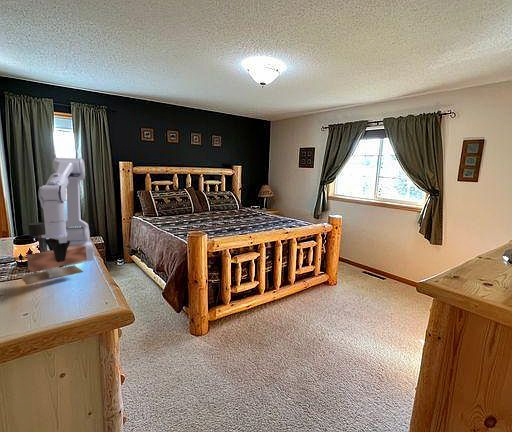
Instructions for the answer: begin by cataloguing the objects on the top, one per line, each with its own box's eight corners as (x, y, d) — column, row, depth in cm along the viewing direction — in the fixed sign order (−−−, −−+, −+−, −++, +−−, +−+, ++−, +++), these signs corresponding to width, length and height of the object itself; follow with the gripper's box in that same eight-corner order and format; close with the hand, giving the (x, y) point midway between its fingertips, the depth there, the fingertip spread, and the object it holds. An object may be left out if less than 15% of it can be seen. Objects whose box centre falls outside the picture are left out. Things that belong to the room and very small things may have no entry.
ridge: (55, 269, 107) (54, 259, 106) (62, 275, 101) (61, 265, 100) (43, 272, 104) (42, 262, 103) (49, 278, 98) (48, 267, 97)
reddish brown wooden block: (81, 257, 103) (80, 244, 102) (86, 259, 101) (85, 246, 100) (28, 269, 90) (26, 255, 89) (33, 272, 87) (31, 257, 87)
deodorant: (50, 254, 130) (47, 223, 127) (37, 258, 124) (33, 225, 122) (42, 253, 131) (38, 222, 129) (28, 256, 126) (24, 224, 124)
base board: (74, 267, 112) (74, 265, 112) (83, 274, 105) (83, 271, 105) (20, 278, 100) (20, 276, 99) (27, 287, 93) (26, 284, 92)
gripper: (35, 219, 94) (39, 258, 97) (46, 225, 85) (50, 267, 87) (59, 217, 100) (62, 253, 102) (72, 222, 90) (75, 262, 92)
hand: (58, 259), depth 95 cm, fingers closed on reddish brown wooden block, 4 cm apart
